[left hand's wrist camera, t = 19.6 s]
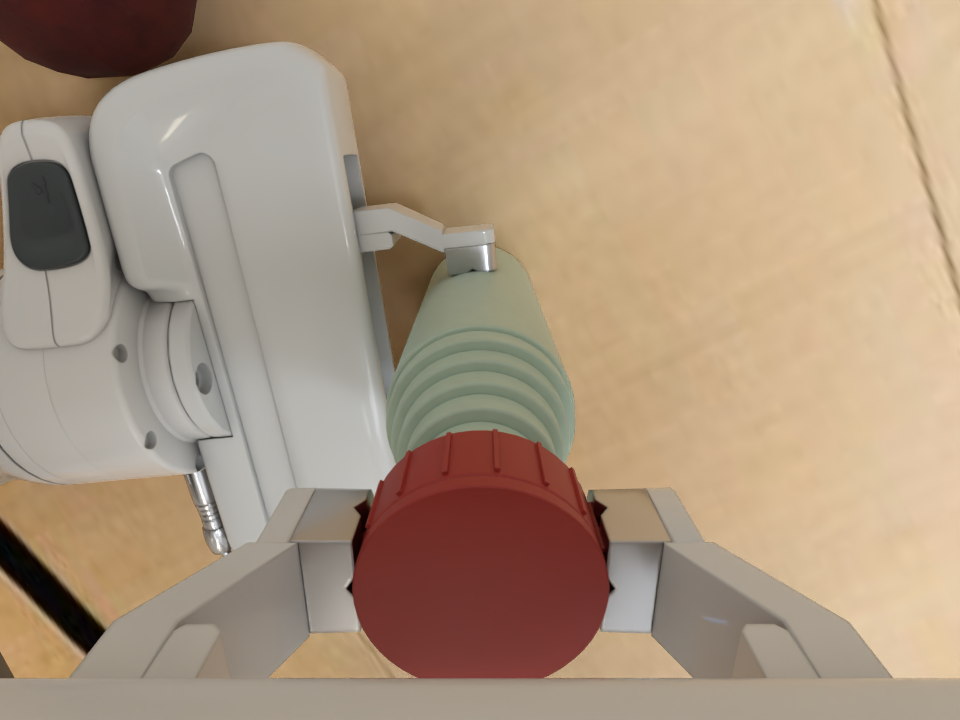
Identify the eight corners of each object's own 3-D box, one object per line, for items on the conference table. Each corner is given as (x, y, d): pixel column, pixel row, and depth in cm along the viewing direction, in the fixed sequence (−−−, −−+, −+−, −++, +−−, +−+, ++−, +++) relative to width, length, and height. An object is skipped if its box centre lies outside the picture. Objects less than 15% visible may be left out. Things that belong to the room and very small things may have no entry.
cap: (491, 643, 11) (493, 729, 10) (327, 534, 10) (298, 608, 9) (636, 515, 10) (666, 586, 9) (467, 382, 9) (465, 432, 8)
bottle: (453, 226, 25) (396, 387, 8) (550, 271, 26) (688, 506, 9) (412, 322, 27) (290, 628, 10) (505, 362, 28) (547, 714, 10)
